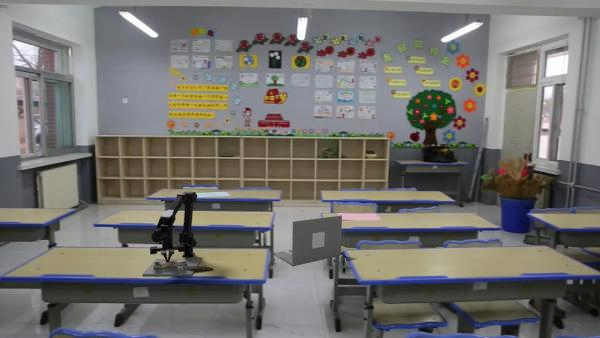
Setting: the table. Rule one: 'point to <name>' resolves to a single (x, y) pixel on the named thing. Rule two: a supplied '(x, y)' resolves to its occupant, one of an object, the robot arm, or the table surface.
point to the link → (167, 264)
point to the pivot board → (172, 268)
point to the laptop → (314, 240)
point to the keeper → (181, 266)
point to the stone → (200, 268)
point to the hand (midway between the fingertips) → (167, 263)
